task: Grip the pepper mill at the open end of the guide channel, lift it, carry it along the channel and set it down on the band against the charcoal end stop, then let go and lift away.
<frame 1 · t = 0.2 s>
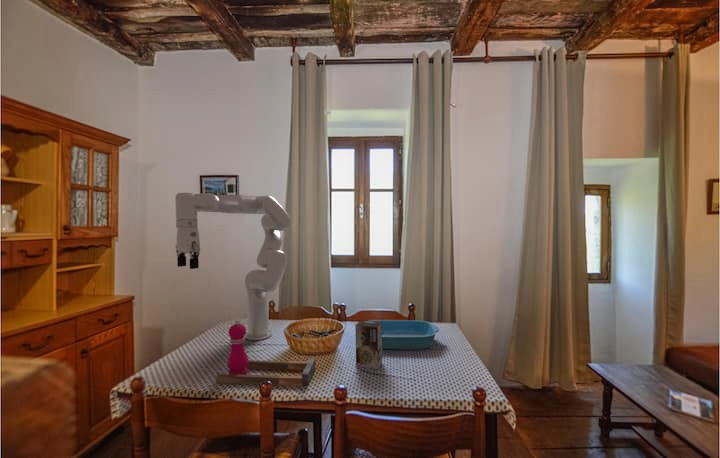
hand: (187, 267, 134), 37 cm above the table, tool pointing down, fingers open, 9 cm apart
casserole dish: (397, 342, 153), on the table
coffee box: (369, 365, 130), on the table
guide channel: (268, 375, 121), on the table
pepper mill: (238, 375, 122), on the table
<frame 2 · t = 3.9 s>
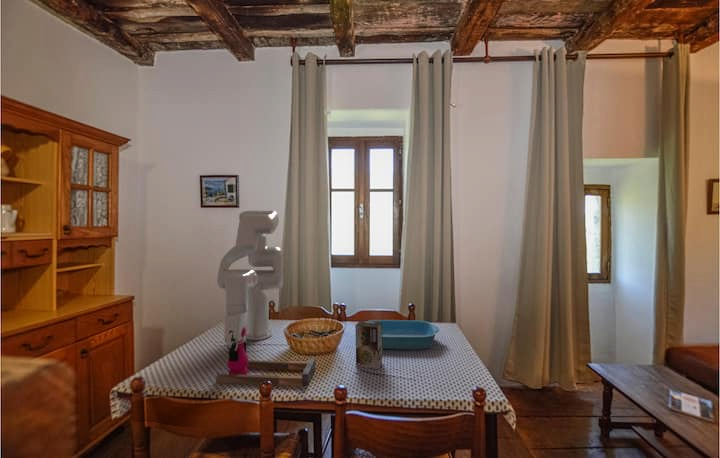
hand: (237, 356, 122), 7 cm above the table, tool pointing down, fingers closed on pepper mill, 6 cm apart
pepper mill: (238, 375, 122), on the table, touching gripper
everything else where it was.
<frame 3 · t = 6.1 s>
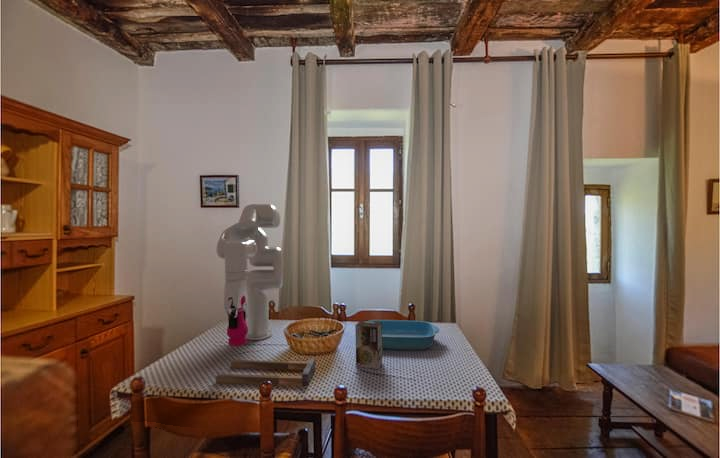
hand: (237, 324, 122), 18 cm above the table, tool pointing down, fingers closed on pepper mill, 5 cm apart
pepper mill: (237, 343, 122), point 11 cm above the table, touching gripper
everything else where it was.
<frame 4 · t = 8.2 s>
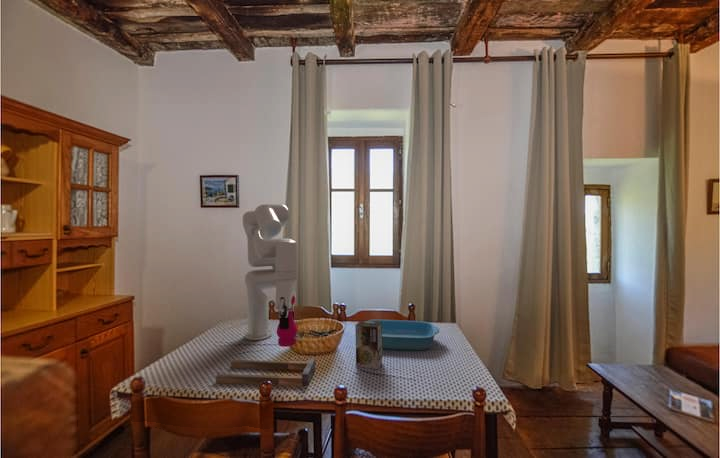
hand: (287, 325, 120), 18 cm above the table, tool pointing down, fingers closed on pepper mill, 5 cm apart
pepper mill: (287, 344, 121), point 12 cm above the table, touching gripper
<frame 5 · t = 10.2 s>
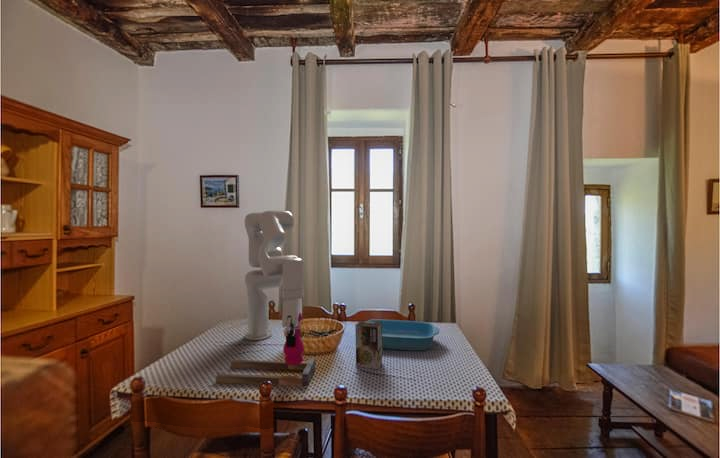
hand: (293, 342, 120), 12 cm above the table, tool pointing down, fingers closed on pepper mill, 5 cm apart
pepper mill: (293, 361, 121), point 5 cm above the table, touching gripper
when the fingers open (8 cm above the table, at t = 12.1 s): pepper mill drops 1 cm, on the table.
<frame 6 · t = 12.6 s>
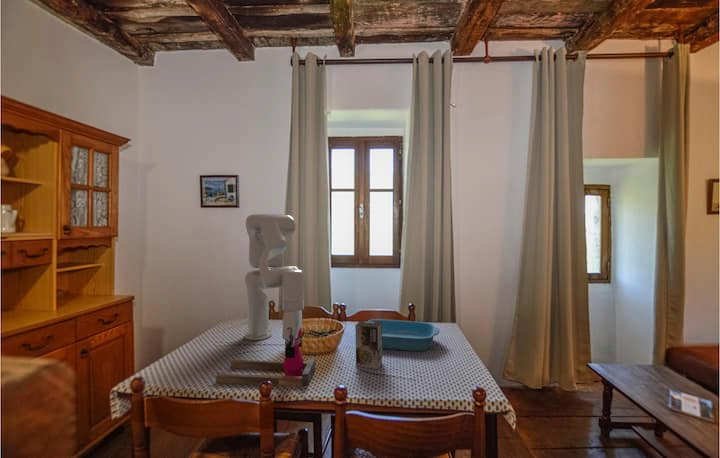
hand: (293, 351, 120), 9 cm above the table, tool pointing down, fingers open, 9 cm apart
pepper mill: (293, 376, 121), on the table
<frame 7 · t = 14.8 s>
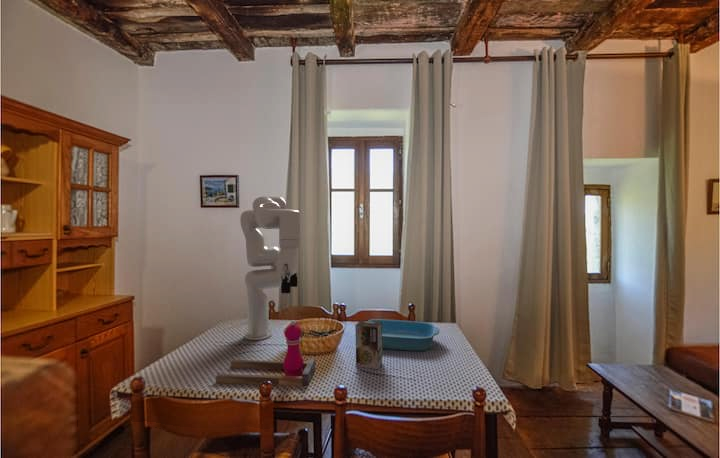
hand: (289, 289, 125), 30 cm above the table, tool pointing down, fingers open, 9 cm apart
nothing on the table moved.
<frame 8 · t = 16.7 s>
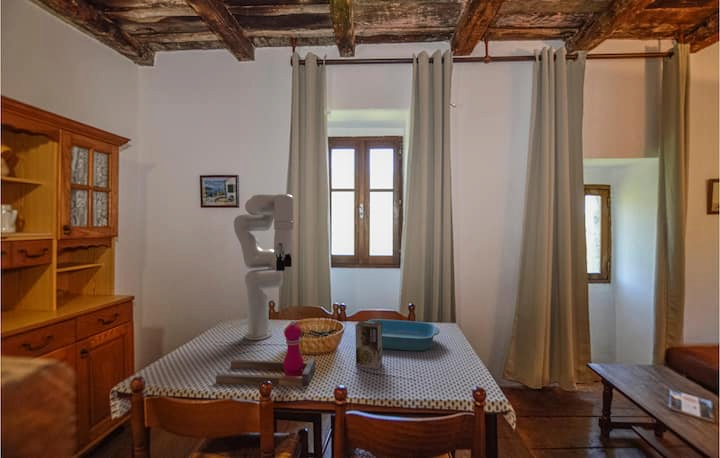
hand: (284, 268, 135), 36 cm above the table, tool pointing down, fingers open, 9 cm apart
nothing on the table moved.
at the end: pepper mill 0.4 cm from the target spot on the guide channel, point 0.0 cm above the guide channel's base; pepper mill tilted 0°; the gripper is holding nothing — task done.
